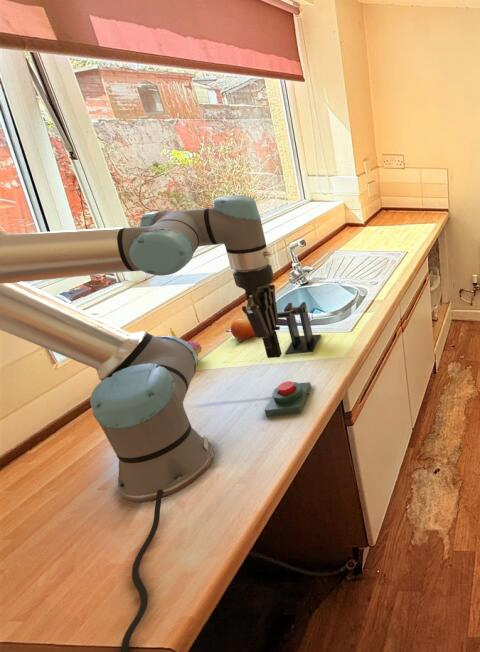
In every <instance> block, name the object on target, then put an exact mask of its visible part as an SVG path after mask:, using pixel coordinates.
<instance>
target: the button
mask: <svg viewBox="0 0 480 652" xmlns="http://www.w3.org/2000/svg"><path fill="white" fill-rule="evenodd" d="M293 382H294V381H291V380H290V381H284V382H281V383H280V384H278V385H279V386H277V387H278V390H279V394H280V395H288V394H291V393H292V392H294V391H295V387H294V383H293Z"/></svg>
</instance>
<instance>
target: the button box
mask: <svg viewBox="0 0 480 652" xmlns="http://www.w3.org/2000/svg"><path fill="white" fill-rule="evenodd" d="M292 382H293V383H294V387H295V391H294V392H292V393H291V394H288V395H280V394H279V390H278V386H279V385H280V384H278V386H277V387H276V388H274V389H273V391H272V393H271V394H272V396H271V398H270V399H269V401H268V403H267V405H266V407H265V409H264V412H265V416H266V418H270V417H279V416H288V415H289V416H290V415H296V414H302V412H303V410H304V408H305V405H306V402H307V401H308V398H309V396H310V391H311V388H312V385H311V382H310V381H309V382H297V381H292Z"/></svg>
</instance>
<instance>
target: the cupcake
mask: <svg viewBox="0 0 480 652" xmlns="http://www.w3.org/2000/svg"><path fill="white" fill-rule="evenodd" d="M169 330H170V333H171V336H173V337H177V335H176V333H175V331H174V330H172V328H171V327H169ZM185 341H186V342H187V343H188V344H189V345H191V347H192V348H193V349H194V351H195V353H196V357H197V363H196V365H197V364H198V358H199V354H200V353H201V352H202V351H203V349H202V348H203V347H202V345H201V344H200V343H198V342H196V341H193V340H185Z"/></svg>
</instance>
